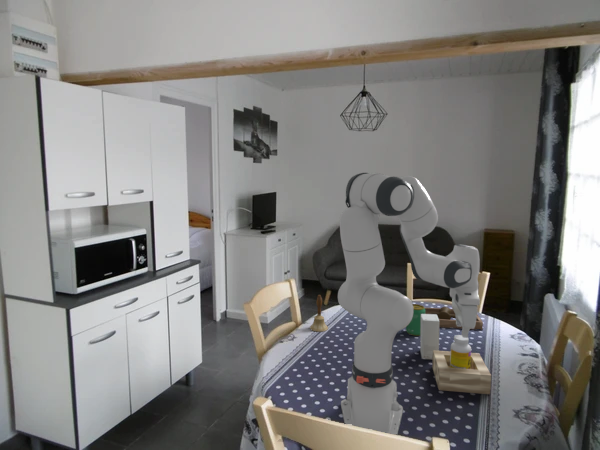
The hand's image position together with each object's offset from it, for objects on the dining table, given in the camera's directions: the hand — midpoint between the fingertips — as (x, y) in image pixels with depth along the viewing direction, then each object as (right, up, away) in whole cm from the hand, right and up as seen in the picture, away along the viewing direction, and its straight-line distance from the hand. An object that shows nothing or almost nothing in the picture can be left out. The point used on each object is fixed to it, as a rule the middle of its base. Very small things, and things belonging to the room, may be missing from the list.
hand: (461, 331), depth 142 cm
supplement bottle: (0, -15, +2) cm, 15 cm away
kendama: (+18, -10, +56) cm, 60 cm away
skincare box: (-5, -15, +21) cm, 27 cm away
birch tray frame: (0, -18, +3) cm, 18 cm away
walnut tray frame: (+16, -10, +56) cm, 59 cm away
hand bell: (-47, -11, +49) cm, 68 cm away
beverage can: (-4, -12, +43) cm, 45 cm away
